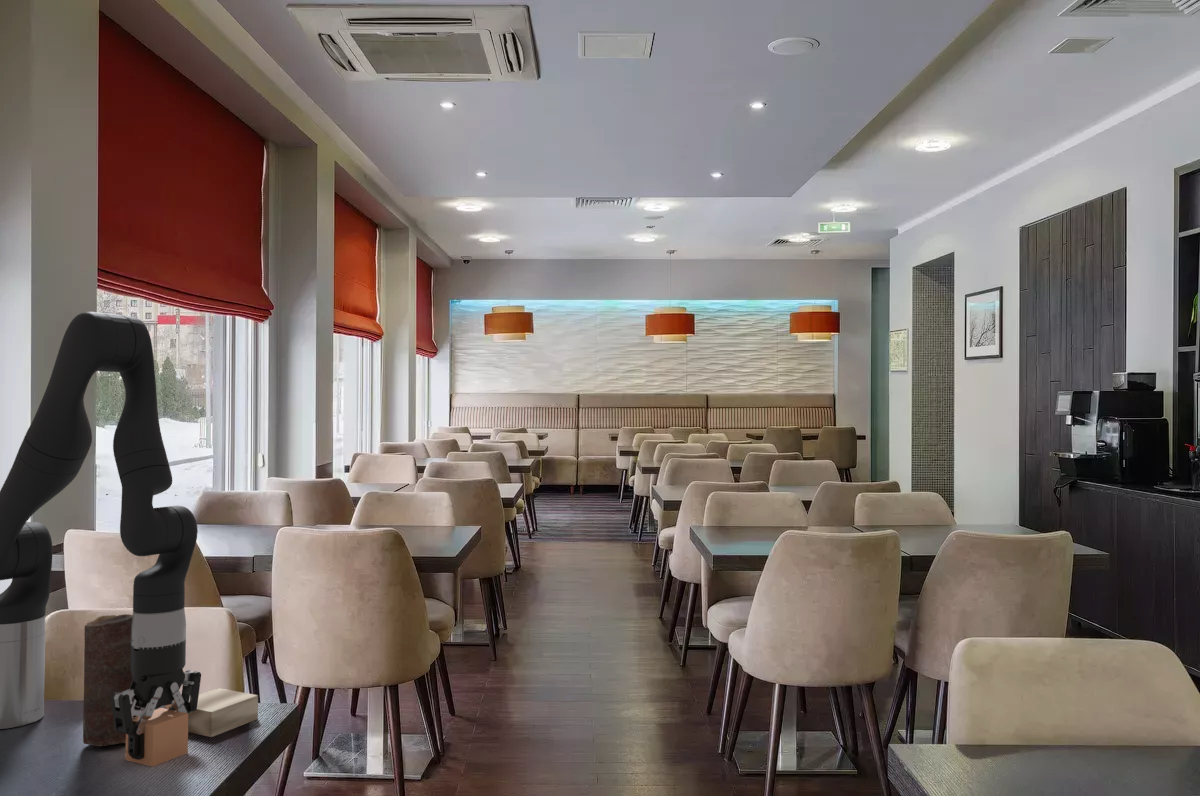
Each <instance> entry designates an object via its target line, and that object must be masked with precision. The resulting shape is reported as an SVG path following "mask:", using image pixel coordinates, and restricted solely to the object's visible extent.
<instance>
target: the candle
mask: <svg viewBox="0 0 1200 796" xmlns="http://www.w3.org/2000/svg"><path fill="white" fill-rule="evenodd" d="M132 617H133V614H127V613H126V614H125V613H124V614H119V615H116V614H115V615H114V614H112V615H111V614H110V615H101V616H98V617H96V618H95V619H94V620H91V621H89V622H88V623H86V624H85V625H84V632H83V633H84V634H83V635H84V649H83V650H84V653H83V654H84V655H83V656H84V657H83V658H84V661H83V662H84V663H83V668H84V669H83V671H84V673H83V711H82V713H83V716H82V718H83V723H82V724H83V725H82V742H83V745H90V746H96V747H108V746H114V745H117V744H126V734H125V733H121V732H116V731H115V728H114V720H113V712H112V704H111V695H112V694H113V693H114V692H118V693H121V692H123V691H125V690H127V689H129V688H130V685H131V683H132V680H133V677H132V674H131V671H130V648H131V623H132ZM134 700H135V699H134V697H132V701H133V703H134ZM133 703H132V704H130V706H131V708H132V705H133Z"/></svg>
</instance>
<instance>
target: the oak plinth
mask: <svg viewBox="0 0 1200 796" xmlns="http://www.w3.org/2000/svg"><path fill="white" fill-rule="evenodd" d="M189 702H190V698H189ZM258 717H259V695H258V694H254V693H253V694H252V693H247V692H243V691H237V690H231V689H225V688H219V687H218V688H213V689H211V690H209V691H205V692H202V693H199V697H198V704H197V709H196V710H195V711H191V712H190V713H188V733H191V734H195V735H200V736H204V737H208V738H213V737H216V736H218V735H220V734H223V733H226V732H228V731H231V730H233V729H236V728H238V727H241V726H243V725H246V724H249V723H251V722H254V721H256V720H258V719H259V718H258Z"/></svg>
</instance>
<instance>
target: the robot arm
mask: <svg viewBox="0 0 1200 796" xmlns="http://www.w3.org/2000/svg"><path fill="white" fill-rule="evenodd" d="M150 335H151V334H150V332H149V330H148V327H147V326H146V324H145V323H144V321H142V320H141V319H139V318H138V317H134V316H130V315H124V314H117V313H116V314H114V313H107V312H97V311H83V312H81V313H79V314H77V315H75V317H73V319H72V320H70V322H69V324H68V326H67V328H66V330H65V332H64V334H63V337H62V340H61V342H60V346H59V349H58V352H57V355H56V358H55V361H54V365H53V368H52V372H51V375H50V377H49V378H50V379H49V381H48V384H47V386H46V389H45V391H44V393H43V396H42V399H41V401H40V404H39V406H38V408H37V410H36V413H35V415H34V417H33V419H32V421H31V423H30V425H29V427H28V428H27V431H26V433H25V434H24V437H23V440H22V441H21V444H20V447H19V449H18V451H17V453H16V456H15V458H14V461H13V463H12V466H11V468H10V469H9V472H8V474H7V477H6V479H5V481H4V482H3V484H2V486H1V487H0V581H6V580H10V579H11V582H10V585H8V587H7V588H6V589H5V590H4V591H2V592H1V593H0V730H3V729H10V728H11V729H12V728H17V727H22V726H25V725H29V724H31V723H35V722H38V721H39V720H41V719H42V718H43V717H44V715H45V711H44V710H45V672H46V671H45V668H46V667H45V664H46V662H45V661H46V655H45V654H46V609H47V608H46V607H47V604H48V601H49V599H50V594H51V579H52V567H53V554H54V553H53V540H52V536H51V534H50V531H49V529H48V528H47V527H46V526H45V525H44V524H42V523H41V522H39V521H38V522H37V521H29V520H30V518H31V517H32V516H33V515H34V514H35V513H36V512H37V511H38V510H39V509H41V508H42V507H43V506H45V505H46V504H47V503H48V502H50V501H51V500H52V499H53V498H55V497H56V496H57V495H58V494H60V493H61V492H62V491H63V490H64V489H66V488H67V486H69V485H70V484H71V483H72V482H73V481H74V479H75V478H76V477H77V476H78V474H79V472H80V470H81V468H82V467H83V464H84V462H85V460H86V458H87V456H88V454H89V452H90V448H91V446H92V442H93V433H92V429H91V424H90V421H89V417H88V414H87V412H86V408H85V401H84V398H85V394H86V391H87V387H88V385H89V383H90V381H91V379H92V377H93V375H94V374H95V373H96V372H106V373H107V372H108V373H119V375H120V377H121V379H122V382H123V387H124V390H125V391H124V394H125V399H124V405H123V408H122V411H121V415H120V416H119V420H118V422H117V425H116V428H115V430H114V435H113V441H112V442H113V443H112V451H113V456H114V461H115V464H116V468H117V473H118V476H119V481H120V484H121V503H120V504H121V506H120V508H121V509H120V523H119V533H120V535H119V536H120V539H121V542H122V544H123V546H124V547H125V548H126V551H128V552H129V553H130V554H132V555H133V556H137V557H148V556H155V555H158V558H157V559H156V561H155V564H153V565H152V566H151V567H150V568H148V569H145V570H143V571H141V572H139V573H137V574H136V576H135V577H134V579H133V585H132V587H133V589H132V591H133V594H132V596H133V597H132V615H133V617H132V623H131V648H130V671H131V674H132V677H133V680H132V683H131V685H130V688H129V689H127V690H125V691H123V692H121V693H118V692H114V693H113V694H112V695H111V704H112V712H113V720H114V728H115V731H116V732H121V733H125V734H128V753H129V755H130V756H131V757H132V758H133V759H137V760H140V759H142V758H144V743H145V734H144V733H143V732H144V729H145V724H146V723H147V721H148V719H150V718H151V717H152V715H153V712H154V710H156V709H159V708H162V706H164V707H165V708H166V709H168V710H175V711H176V712H184V713H190V712H191V711H195V710H196V709H197V704H198V697H199V694H200V689H201V688H200V687H201V682H202V681H201V680H202V673H201V672H199V671H196V670H190V669H187V670H185V672H184V668H185V667H186V662H187V661H186V657H187V654H186V648H187V647H186V646H187V645H186V644H187V639H186V638H187V619H186V610H185V599H186V597H185V594H186V593H185V591H186V587H185V581H186V578H187V574H188V571H189V569H190V566H191V565H190V564H191V561H192V557H193V554H194V552H195V547H196V544H197V540H198V539H197V538H198V524H197V520H196V518H195V517H196V516H195V515H194V513H193V512H192V511H191V510H190V509H189V508H188V507H185V506H183V505H171V506H170V505H169V506H160V507H154V506H153V502H154V501H153V500H154V496H157V495H159V494H162V493H164V492H166V491H168V490H169V489H170V488H171V486H172V483H173V475H172V471H171V467H170V463H169V460H168V457H167V456H168V455H167V451H166V449H165V445H164V440H163V437H162V432H161V426H160V419H159V410H158V395H157V383H156V382H157V380H156V372H155V362H154V361H155V360H154V349H153V344H152V338H151V336H150ZM181 687H182V688H181ZM180 689H181V691H180ZM132 697H134V699H135V700H134V703H133V701H132ZM189 698H190V702H189ZM132 703H133V705H132V708H131V706H130V704H132ZM142 708H143V709H144V710H141V709H142ZM138 720H139V721H138ZM137 721H138V723H137V725H136V722H137Z"/></svg>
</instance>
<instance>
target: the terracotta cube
mask: <svg viewBox="0 0 1200 796" xmlns="http://www.w3.org/2000/svg"><path fill="white" fill-rule="evenodd" d="M138 721H139V720H138ZM138 721H137V722H136V725H137V723H138ZM143 733H144V734H145V743H144V758H142V759H140V760H137V759H133V758H132V757H131V756H130V755H129V753H128V734H126V743H125V761H127V762H131V763H136V764H141V765H144V766H148V767H152V768H153V767H156V766H158V765H161V764H163V763H166V762H169V761H171V760H174V759H176V758H178V757H181V756H183V755H186V754H188V753H189V732H188V713H184V712H176V711H175V710H168V709H167V708H166V707H165V708H164V707H159V708H158V709H155V710H154V712H153V715H152V717H151V718H150V719H148V721H147V723H146V724H145V729H144V732H143Z"/></svg>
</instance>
